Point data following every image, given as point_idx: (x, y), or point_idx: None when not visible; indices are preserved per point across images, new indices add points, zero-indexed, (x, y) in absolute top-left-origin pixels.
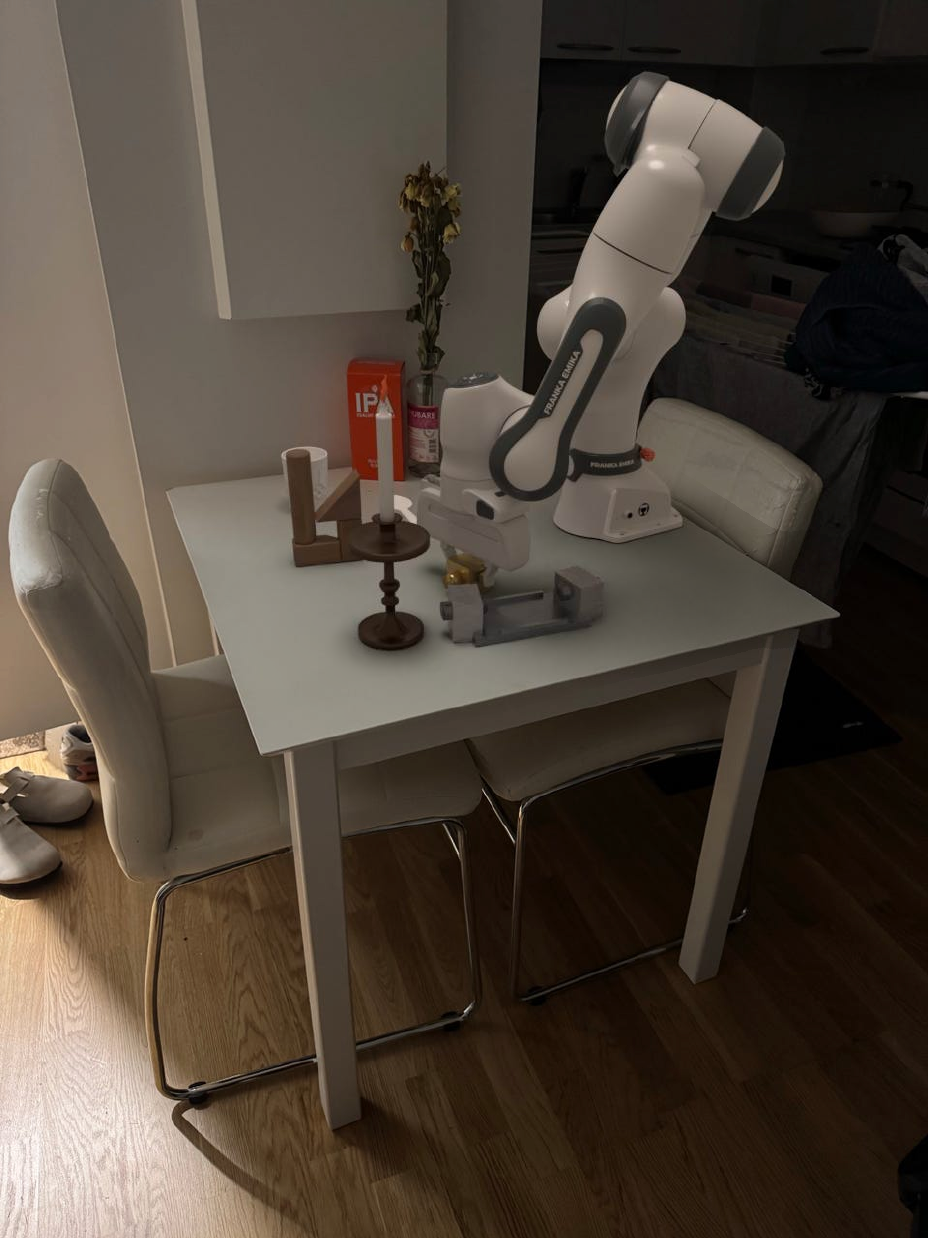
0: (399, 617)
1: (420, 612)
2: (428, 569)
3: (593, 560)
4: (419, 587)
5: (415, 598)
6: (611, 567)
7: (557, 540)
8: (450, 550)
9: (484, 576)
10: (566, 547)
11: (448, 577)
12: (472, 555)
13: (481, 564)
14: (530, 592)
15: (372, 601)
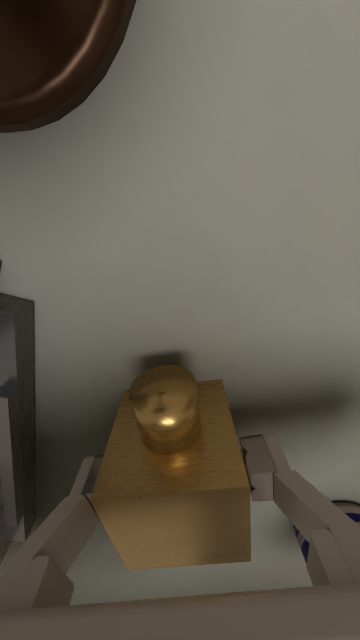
0: (51, 24)
1: (106, 203)
2: (349, 391)
3: (145, 588)
4: (278, 310)
5: (219, 252)
6: (109, 591)
7: (241, 587)
8: (304, 520)
9: (76, 494)
10: (210, 585)
11: (153, 406)
12: (87, 606)
13: (111, 540)
14: (13, 509)
15: (335, 28)
